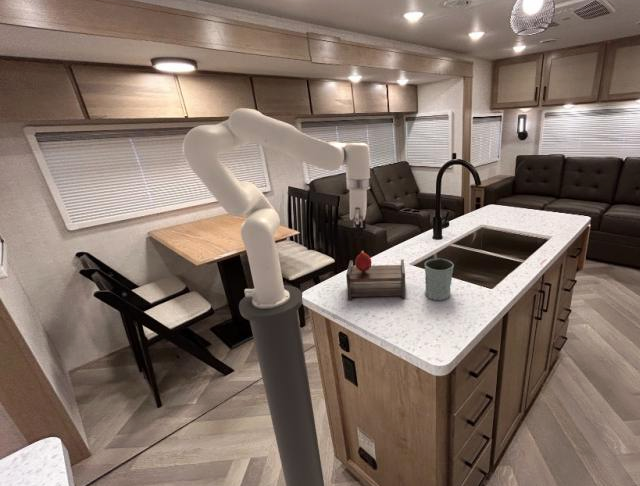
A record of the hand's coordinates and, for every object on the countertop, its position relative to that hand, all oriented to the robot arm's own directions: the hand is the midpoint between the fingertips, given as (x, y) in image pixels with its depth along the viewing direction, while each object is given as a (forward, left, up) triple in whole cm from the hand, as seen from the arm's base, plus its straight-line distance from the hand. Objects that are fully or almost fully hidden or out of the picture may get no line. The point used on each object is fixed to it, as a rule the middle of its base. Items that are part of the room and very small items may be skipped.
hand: (360, 233), depth 109 cm
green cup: (+27, -3, -23) cm, 35 cm away
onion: (+1, 0, -15) cm, 15 cm away
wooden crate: (+5, 0, -22) cm, 23 cm away
